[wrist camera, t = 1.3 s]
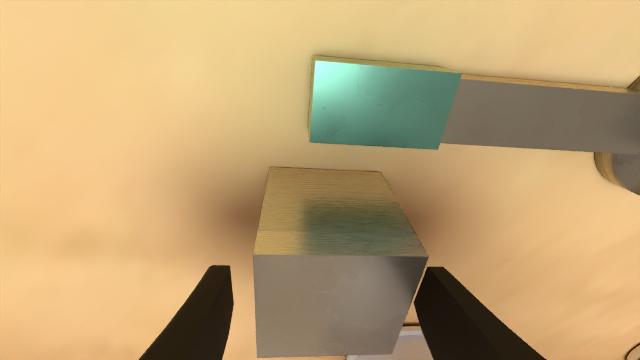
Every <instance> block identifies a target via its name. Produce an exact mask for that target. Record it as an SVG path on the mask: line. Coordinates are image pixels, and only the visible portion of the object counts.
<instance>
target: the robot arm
mask: <svg viewBox="0 0 640 360" xmlns="http://www.w3.org/2000/svg"><path fill="white" fill-rule="evenodd" d="M233 305H234V302H233V292H232V282H231V271H230V266H225V265H212V266H210V267H209V268H208V270H207V271H206V273H205V274H204V276H203V277H202V279H201V280H200V282H199V283H198V285H197V286H196V288H195V289H194V290H193V292H192V293H191V295H190V296H189V297H188V299H187V300H186V302H185V303H184V304H183V306H182V307H181V308H180V309H179V311H178V312H177V313H176V315H175V316H174V317H173V319H172V320H171V321H170V322H169V324H168V325H167V326H166V328H165V329H164V330H163V331H162V332H161V334H160V335H159V336H158V337H157V338H156V340H155V341H154V342H153V343H152V344H151V346H150V347H149V348H148V349H147V350H146V352H145V353H144V354H143V355H142V356H141V357H140V359H139V360H222V357H223V354H224V350H225V346H226V343H227V339H228V335H229V329H230V324H231V318H232V312H233ZM414 305H415V309H416V313H417V317H418V320H419V323H420V326H402V329H401V332H400V334H399V337H398V340H397V342H396V345H395V348H394V350H393V353H392V354H387V355H349V356H347V359H346V360H546V359H545V358H544V357H542V356H541V355H540V354H539V353H537V352H536V351H535V350H534V349H533V348H531V347H530V346H529V345H528V344H527V343H526V342H524V341H523V340H522V339H521V338H520V337H519V336H517V335H516V334H515V333H514V332H513V331H512V330H510V329H509V328H508V327H507V326H506V325H505V324H504V323H503V322H501V321H500V320H499V319H498V318H497V317H496V316H495V315H494V314H493V313H492V312H491V311H489V310H488V309H487V308H486V307H485V306H484V305H483V304H482V303H481V302H480V301H479V300H478V299H477V298H476V297H475V296H474V295H472V294H471V293H470V292H469V291H468V290H467V289H466V288H465V287H464V286H463V285H462V284H461V283H460V282H459V281H458V280H457V279H456V278H455V277H454V276H453V275H451V274H450V273H449V272H448V271H447V270H446V269H445V268H444V267H427V270H426V272H425V275H424V277H423V280H422V283H421V285H420V288H419V290H418V293H417V295H416V298H415V301H414Z"/></svg>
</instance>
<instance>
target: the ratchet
mask: <svg viewBox="0 0 640 360" xmlns="http://www.w3.org/2000/svg"><path fill="white" fill-rule="evenodd" d="M308 133H309V142H310V143H328V144H346V145H364V146H382V147H400V148H418V149H436V150H438V148H439V145H440V143H448V144H465V145H482V146H499V147H516V148H533V149H550V150H567V151H584V152H595V162H596V166H597V168H598V170H599V172H600V173H601V174H602V176H604V177H605V178H606V179H607V180H609V181H611V182H613V183H615V184H617V185H619V186H621V187H623V188H625V189H627V190H629V191H631V192H633V193H635V194H637V195H640V77H639V78H638V79H637V80H636V81H635V82H634V83H633V84H632V85H631V86H630V87H629V88H617V87H606V86H595V85H583V84H572V83H560V82H549V81H537V80H526V79H514V78H503V77H492V76H480V75H469V74H462V73H459V72H456V71H452V70H449V69H446V68H442V67H439V66H429V65H418V64H406V63H395V62H384V61H373V60H362V59H351V58H339V57H328V56H317V55H313V59H312V73H311V87H310V102H309V116H308Z"/></svg>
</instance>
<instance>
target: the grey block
mask: <svg viewBox="0 0 640 360" xmlns="http://www.w3.org/2000/svg"><path fill="white" fill-rule="evenodd" d="M428 257H429V256H428V255H427V253H426V251H425V249H424V247H423V246H422V244H421V242H420V240H419V239H418V237H417V235H416V233H415V232H414V230H413V228H412V226H411V225H410V223H409V221H408V219H407V218H406V216H405V214H404V212H403V210H402V209H401V207H400V205H399V203H398V202H397V200H396V198H395V196H394V195H393V193H392V191H391V189H390V188H389V186H388V184H387V182H386V180H385V179H384V177H383V175H382V173H381V172H369V171H347V170H325V169H303V168H281V167H270V168H269V173H268V179H267V184H266V189H265V194H264V200H263V205H262V210H261V215H260V221H259V226H258V231H257V236H256V242H255V247H254V252H253V265H254V291H255V317H256V343H257V358H273V357H311V356H349V355H387V354H392V353H393V350H394V348H395V345H396V342H397V340H398V337H399V334H400V332H401V329H402V326H403V324H404V321H405V318H406V316H407V313H408V310H409V308H410V305H411V302H412V300H413V297H414V294H415V292H416V289H417V286H418V284H419V281H420V278H421V276H422V273H423V270H424V268H425V265H426V262H427V260H428Z"/></svg>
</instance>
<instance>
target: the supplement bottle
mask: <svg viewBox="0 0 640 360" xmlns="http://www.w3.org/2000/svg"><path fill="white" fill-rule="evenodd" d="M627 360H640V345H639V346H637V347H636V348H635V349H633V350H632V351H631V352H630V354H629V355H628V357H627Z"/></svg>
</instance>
